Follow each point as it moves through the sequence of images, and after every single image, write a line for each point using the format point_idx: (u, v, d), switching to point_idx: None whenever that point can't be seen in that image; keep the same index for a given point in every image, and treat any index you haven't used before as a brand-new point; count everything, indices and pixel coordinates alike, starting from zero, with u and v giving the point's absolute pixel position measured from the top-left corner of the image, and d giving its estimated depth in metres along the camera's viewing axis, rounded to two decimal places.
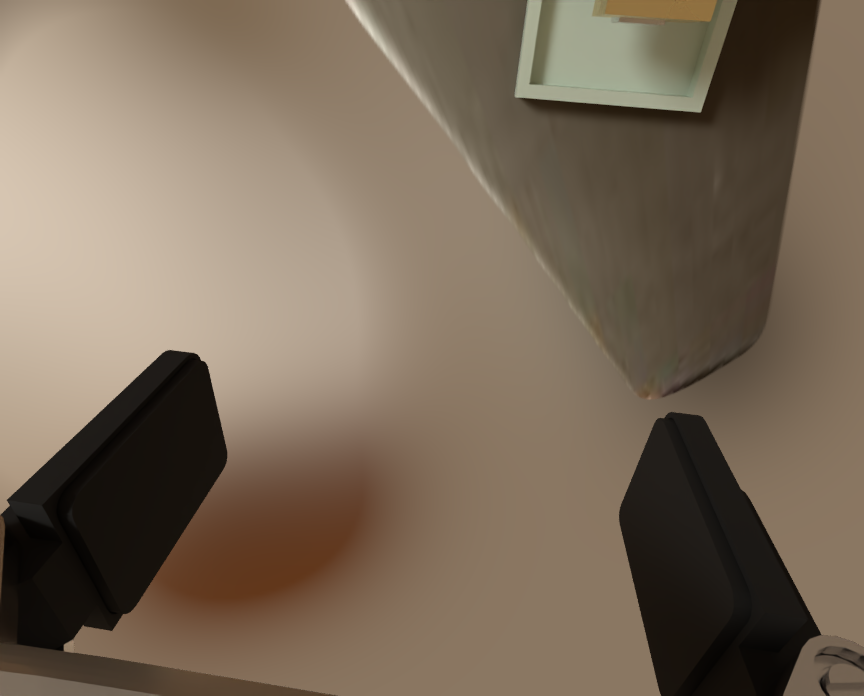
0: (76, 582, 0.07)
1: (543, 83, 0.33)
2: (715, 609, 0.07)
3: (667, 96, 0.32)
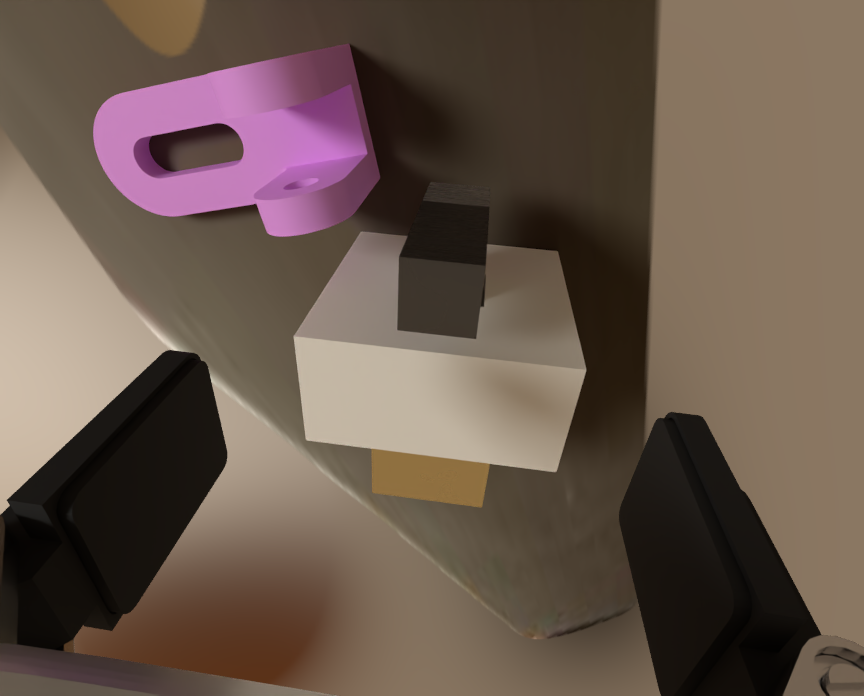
0: (76, 582, 0.07)
1: None
2: (715, 609, 0.07)
3: None
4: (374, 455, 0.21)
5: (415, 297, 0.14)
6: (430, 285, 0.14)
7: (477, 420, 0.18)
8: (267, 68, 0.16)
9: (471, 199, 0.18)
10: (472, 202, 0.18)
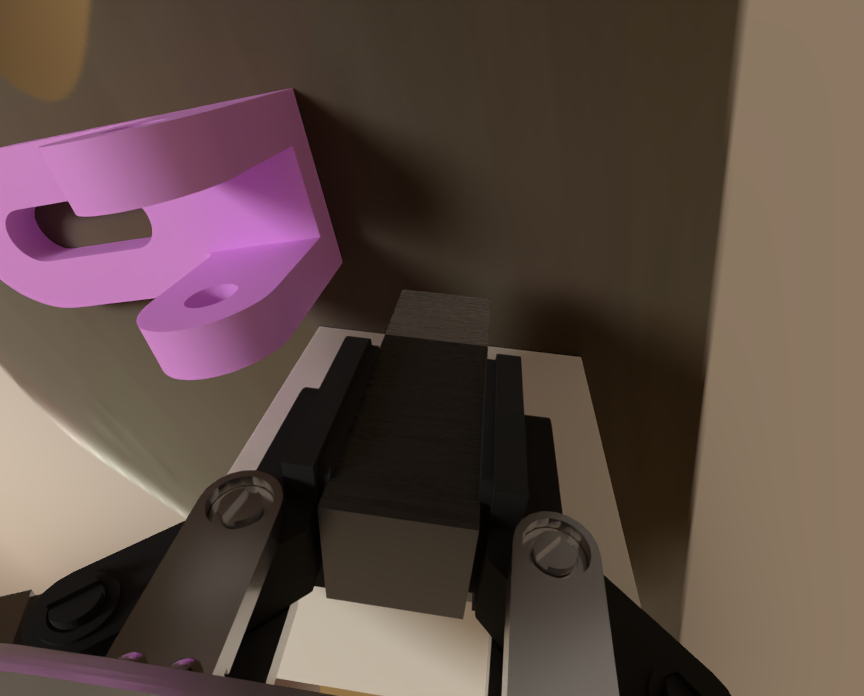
0: (317, 539, 0.08)
1: None
2: None
3: None
4: None
5: (352, 561, 0.08)
6: (379, 548, 0.08)
7: (469, 669, 0.12)
8: (123, 143, 0.09)
9: (460, 328, 0.12)
10: (461, 336, 0.12)
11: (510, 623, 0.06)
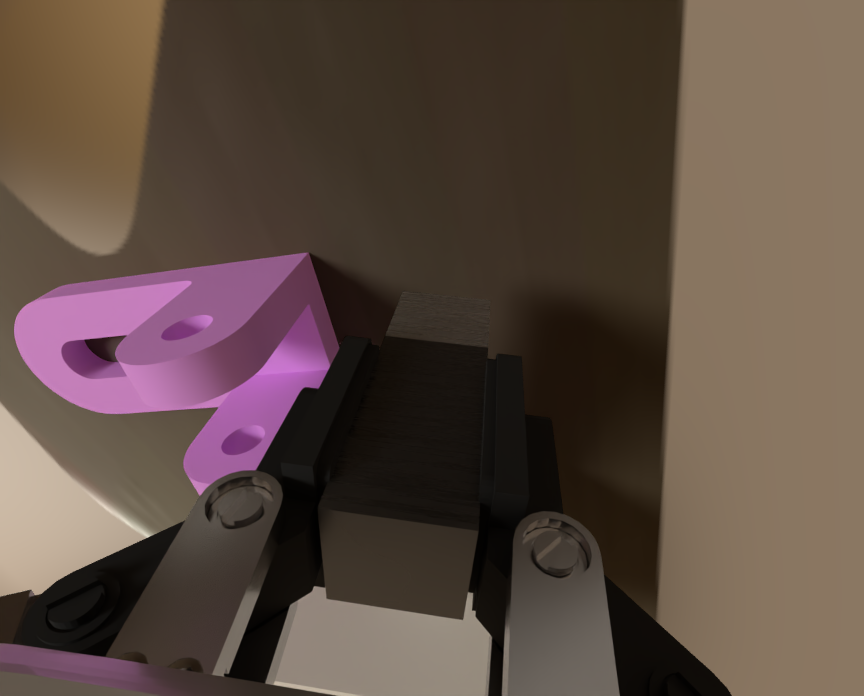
0: (317, 539, 0.08)
1: None
2: None
3: None
4: None
5: (352, 561, 0.08)
6: (379, 549, 0.08)
7: None
8: (184, 364, 0.12)
9: (460, 330, 0.12)
10: (461, 337, 0.12)
11: (511, 623, 0.06)
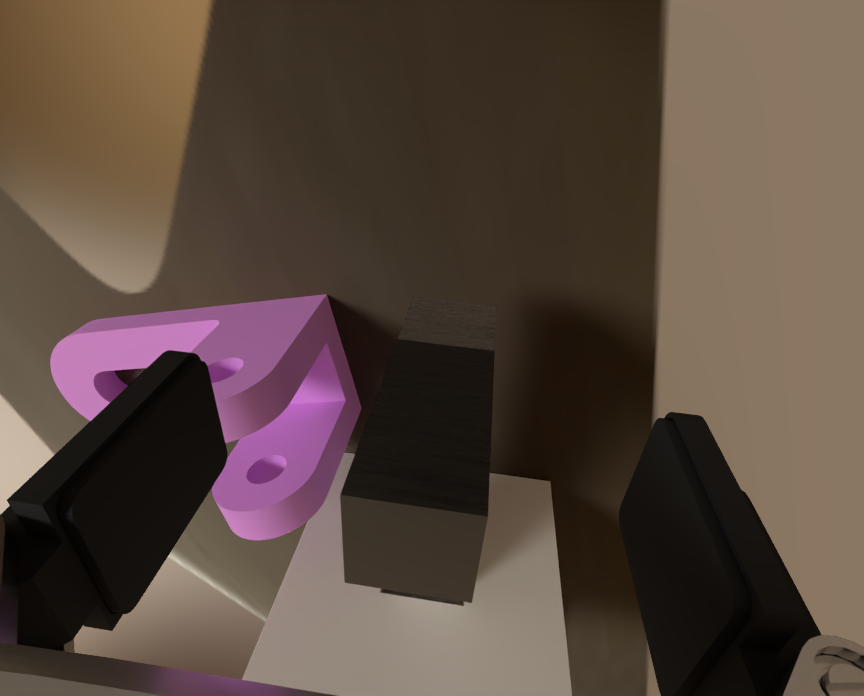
0: (76, 582, 0.07)
1: None
2: (715, 609, 0.07)
3: None
4: None
5: (370, 546, 0.09)
6: (395, 534, 0.08)
7: None
8: (221, 407, 0.14)
9: (468, 334, 0.13)
10: (469, 341, 0.12)
11: None
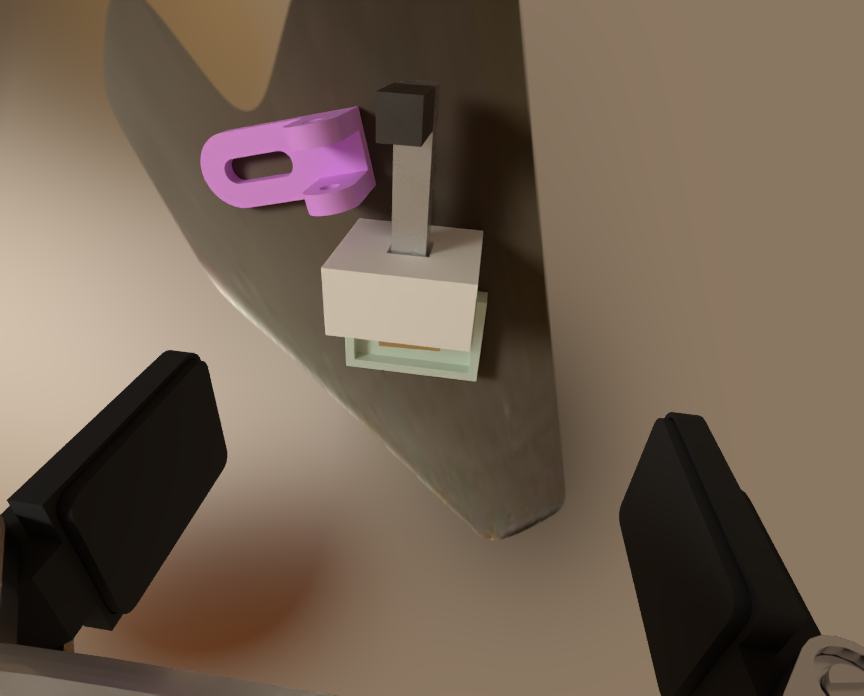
0: (76, 582, 0.07)
1: (368, 353, 0.46)
2: (715, 609, 0.07)
3: (451, 371, 0.44)
4: None
5: (385, 118, 0.25)
6: (394, 110, 0.25)
7: (422, 318, 0.32)
8: (316, 126, 0.30)
9: (425, 84, 0.29)
10: (425, 84, 0.29)
11: None
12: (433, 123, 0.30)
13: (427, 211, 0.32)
